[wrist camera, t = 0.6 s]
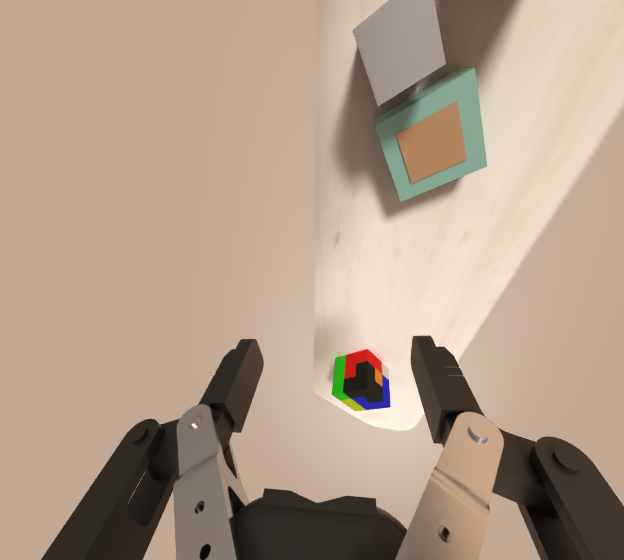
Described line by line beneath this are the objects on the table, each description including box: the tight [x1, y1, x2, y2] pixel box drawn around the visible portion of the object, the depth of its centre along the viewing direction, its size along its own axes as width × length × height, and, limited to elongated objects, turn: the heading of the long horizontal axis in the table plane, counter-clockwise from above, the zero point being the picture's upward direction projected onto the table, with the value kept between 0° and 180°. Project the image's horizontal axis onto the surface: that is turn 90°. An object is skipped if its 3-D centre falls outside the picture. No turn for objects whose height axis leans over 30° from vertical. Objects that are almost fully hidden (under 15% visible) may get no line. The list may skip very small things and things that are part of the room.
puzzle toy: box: [332, 349, 390, 411], centre depth 60 cm, size 10×10×10 cm
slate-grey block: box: [353, 0, 446, 106], centre depth 20 cm, size 5×5×10 cm
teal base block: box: [374, 68, 487, 202], centre depth 26 cm, size 9×9×5 cm
